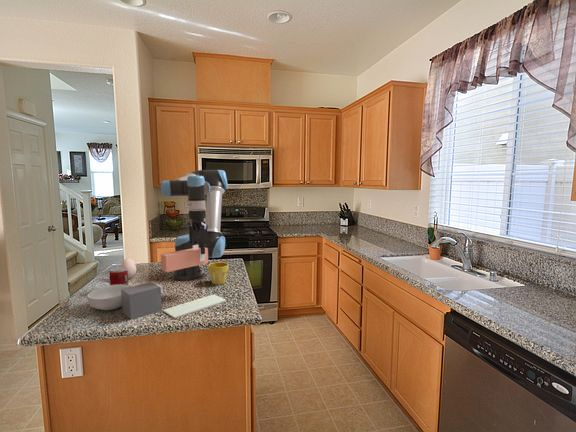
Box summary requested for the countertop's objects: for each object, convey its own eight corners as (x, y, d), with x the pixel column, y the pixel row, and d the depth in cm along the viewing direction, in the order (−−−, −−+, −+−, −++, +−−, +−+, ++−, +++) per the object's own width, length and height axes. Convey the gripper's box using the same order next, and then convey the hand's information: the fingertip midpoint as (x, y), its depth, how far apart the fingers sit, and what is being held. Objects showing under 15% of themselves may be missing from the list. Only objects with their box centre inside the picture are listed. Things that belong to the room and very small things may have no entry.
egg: (140, 276, 173) (138, 256, 171) (129, 281, 165) (128, 260, 164) (128, 275, 175) (126, 256, 173) (117, 280, 167) (115, 259, 166)
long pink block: (202, 261, 148) (202, 246, 147) (208, 262, 145) (207, 248, 144) (161, 269, 134) (160, 254, 133) (166, 272, 130) (165, 255, 130)
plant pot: (232, 280, 166) (232, 262, 164) (222, 286, 156) (221, 267, 155) (215, 278, 169) (215, 261, 168) (204, 284, 159) (204, 266, 158)
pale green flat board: (213, 295, 144) (213, 294, 144) (226, 301, 137) (226, 299, 137) (163, 311, 127) (163, 309, 127) (174, 318, 120) (174, 317, 120)
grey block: (154, 303, 135) (152, 281, 134) (163, 309, 128) (162, 286, 127) (122, 312, 126) (120, 288, 125) (131, 319, 119) (129, 294, 118)
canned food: (121, 294, 147) (119, 271, 145) (106, 293, 148) (105, 270, 147) (132, 288, 154) (131, 267, 153) (118, 287, 156) (116, 266, 154)
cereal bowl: (104, 299, 141) (103, 283, 140) (140, 299, 140) (139, 284, 140) (78, 315, 124) (77, 298, 123) (119, 315, 124) (118, 298, 123)
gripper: (179, 209, 145) (182, 258, 147) (200, 211, 132) (202, 265, 135) (194, 208, 150) (196, 255, 153) (215, 210, 138) (216, 261, 140)
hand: (199, 259), depth 144 cm, fingers closed on long pink block, 5 cm apart
